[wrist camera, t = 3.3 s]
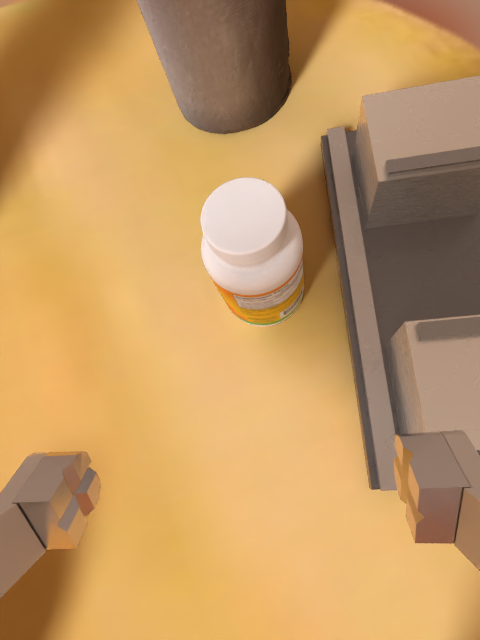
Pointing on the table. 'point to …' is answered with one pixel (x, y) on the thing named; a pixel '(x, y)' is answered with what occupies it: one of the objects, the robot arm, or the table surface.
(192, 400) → the table surface
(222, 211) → the supplement bottle
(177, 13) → the pillar candle
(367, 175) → the rail plate
